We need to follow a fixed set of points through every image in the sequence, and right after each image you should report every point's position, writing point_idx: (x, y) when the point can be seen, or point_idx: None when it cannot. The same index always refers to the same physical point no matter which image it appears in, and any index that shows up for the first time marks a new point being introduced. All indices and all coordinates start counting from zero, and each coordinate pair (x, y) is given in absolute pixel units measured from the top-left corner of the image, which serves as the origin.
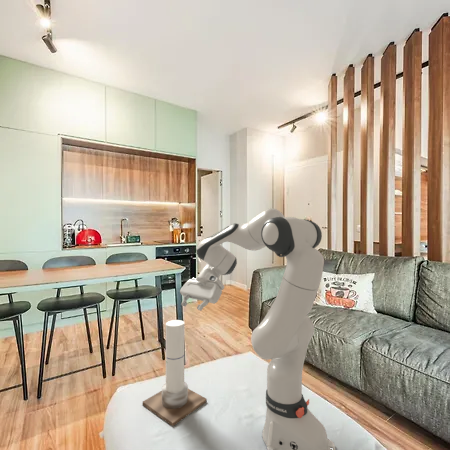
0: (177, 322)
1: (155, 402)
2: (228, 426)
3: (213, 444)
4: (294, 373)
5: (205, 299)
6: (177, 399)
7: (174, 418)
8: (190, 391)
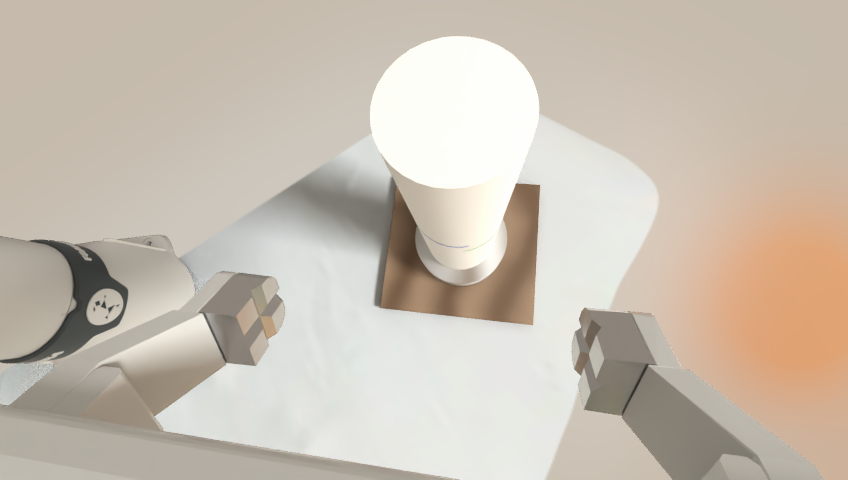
0: (442, 128)
1: None
2: (278, 259)
3: (282, 193)
4: None
5: (29, 404)
6: None
7: None
8: (449, 308)
